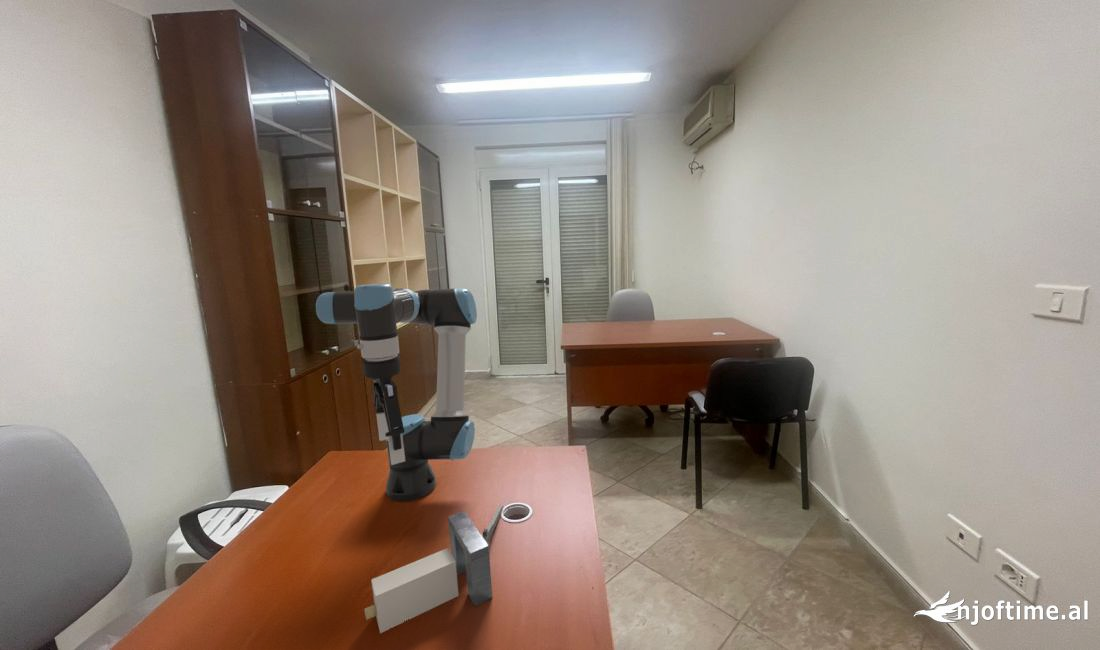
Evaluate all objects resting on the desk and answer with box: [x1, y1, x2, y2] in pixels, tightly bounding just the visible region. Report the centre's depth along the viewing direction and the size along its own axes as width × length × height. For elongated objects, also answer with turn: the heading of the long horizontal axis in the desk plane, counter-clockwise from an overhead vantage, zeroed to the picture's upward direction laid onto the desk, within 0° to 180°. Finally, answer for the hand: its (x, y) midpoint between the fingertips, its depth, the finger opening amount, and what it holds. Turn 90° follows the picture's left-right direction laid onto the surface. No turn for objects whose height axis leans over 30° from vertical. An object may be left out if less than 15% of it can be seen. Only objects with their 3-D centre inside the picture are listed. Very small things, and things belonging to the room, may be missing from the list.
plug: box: [364, 547, 459, 634], centre depth 85 cm, size 5×18×8 cm, turn 122°
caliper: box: [482, 505, 504, 547], centre depth 109 cm, size 20×1×6 cm, turn 175°
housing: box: [447, 510, 493, 607], centre depth 91 cm, size 14×4×12 cm, turn 32°
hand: (391, 450), depth 90 cm, fingers open, 13 cm apart
